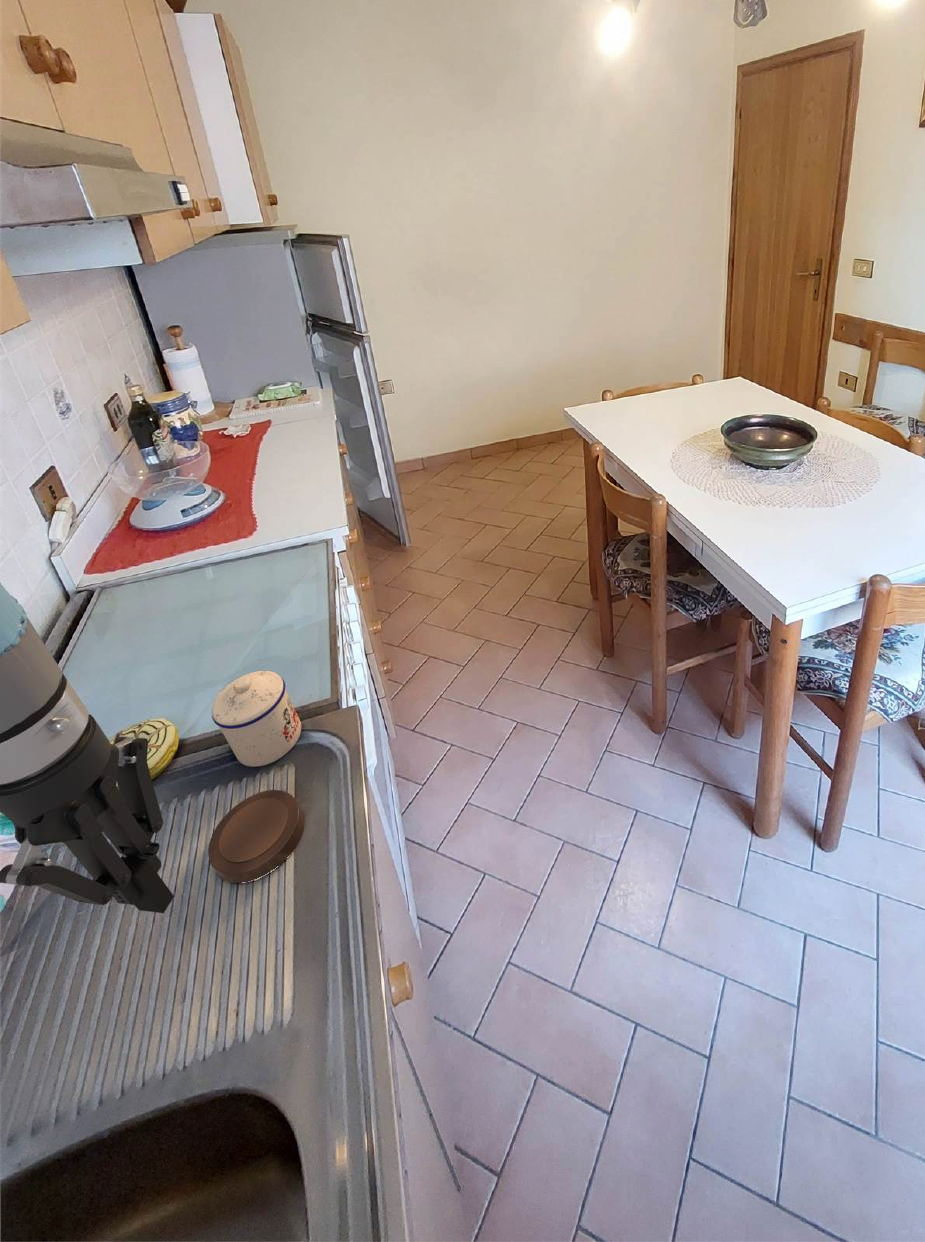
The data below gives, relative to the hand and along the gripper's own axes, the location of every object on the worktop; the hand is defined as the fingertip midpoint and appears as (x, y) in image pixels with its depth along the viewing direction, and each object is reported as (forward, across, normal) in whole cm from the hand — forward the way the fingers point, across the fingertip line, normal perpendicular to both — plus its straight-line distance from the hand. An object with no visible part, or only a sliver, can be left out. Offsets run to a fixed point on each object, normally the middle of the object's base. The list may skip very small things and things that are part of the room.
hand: (156, 903), depth 60 cm
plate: (+9, +12, -1) cm, 15 cm away
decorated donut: (+10, +20, +23) cm, 32 cm away
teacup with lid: (+10, +26, +7) cm, 29 cm away
